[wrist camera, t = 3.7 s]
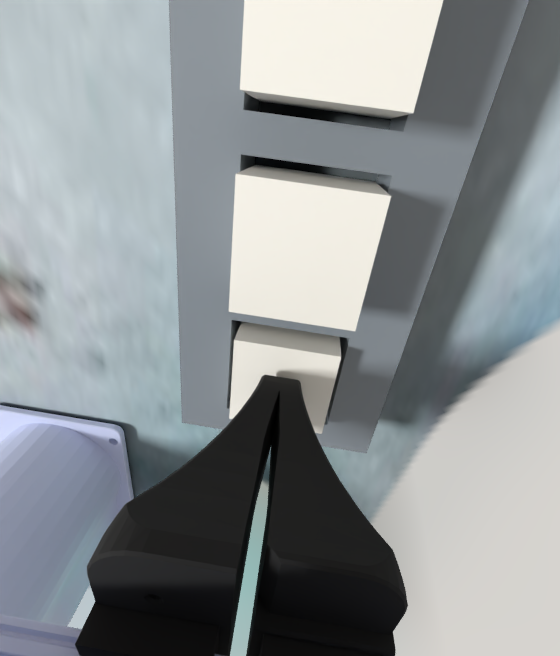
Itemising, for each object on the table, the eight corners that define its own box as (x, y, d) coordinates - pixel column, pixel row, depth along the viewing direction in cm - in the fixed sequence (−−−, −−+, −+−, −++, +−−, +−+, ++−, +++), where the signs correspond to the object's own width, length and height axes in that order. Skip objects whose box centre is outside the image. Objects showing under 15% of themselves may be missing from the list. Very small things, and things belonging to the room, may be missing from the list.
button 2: (389, 118, 10) (413, 113, 7) (260, 101, 10) (240, 89, 8) (433, -69, 8) (486, -164, 6) (275, -88, 8) (253, -189, 6)
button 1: (321, 386, 16) (321, 434, 14) (243, 374, 17) (229, 418, 14) (337, 317, 15) (341, 356, 12) (249, 303, 15) (233, 339, 12)
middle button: (348, 291, 13) (355, 331, 10) (247, 275, 13) (228, 311, 10) (374, 181, 11) (391, 195, 8) (255, 164, 11) (235, 174, 8)
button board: (360, 413, 17) (366, 453, 15) (199, 387, 18) (182, 422, 16) (531, -119, 9) (602, -205, 6) (200, -156, 9) (161, -251, 7)
